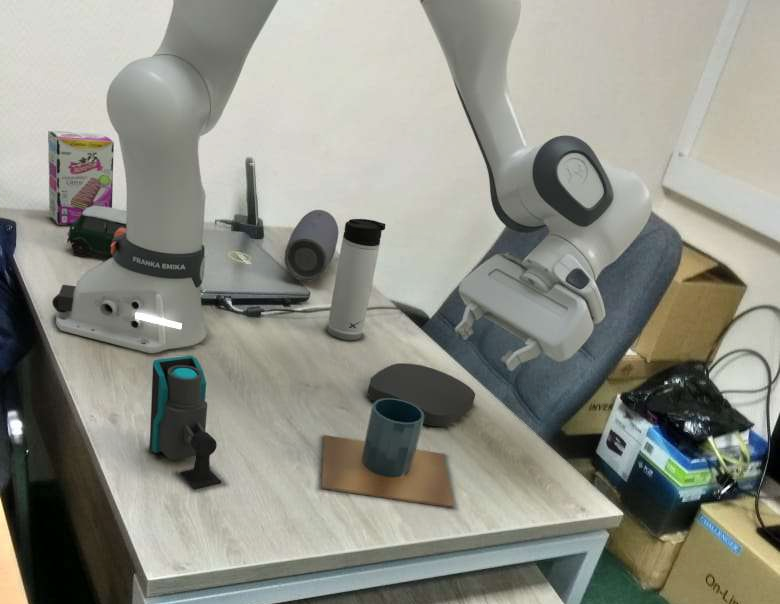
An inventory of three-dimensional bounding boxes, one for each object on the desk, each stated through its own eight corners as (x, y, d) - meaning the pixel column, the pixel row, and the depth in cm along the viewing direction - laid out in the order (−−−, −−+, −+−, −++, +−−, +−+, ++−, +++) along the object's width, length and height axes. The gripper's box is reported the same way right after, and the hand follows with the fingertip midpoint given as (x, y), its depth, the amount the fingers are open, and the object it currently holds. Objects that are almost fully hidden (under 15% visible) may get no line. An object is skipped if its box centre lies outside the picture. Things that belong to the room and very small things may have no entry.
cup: (361, 472, 105) (373, 418, 101) (360, 446, 111) (372, 394, 106) (412, 480, 106) (426, 427, 102) (409, 454, 112) (422, 402, 107)
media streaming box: (440, 434, 119) (445, 416, 117) (357, 397, 124) (361, 379, 122) (479, 404, 130) (484, 387, 129) (402, 371, 135) (406, 354, 133)
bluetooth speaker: (294, 249, 177) (301, 202, 171) (336, 258, 177) (344, 212, 172) (278, 281, 158) (284, 230, 152) (324, 291, 158) (333, 241, 153)
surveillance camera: (193, 399, 88) (150, 360, 93) (186, 491, 94) (147, 449, 100) (238, 392, 91) (194, 354, 97) (228, 481, 98) (188, 441, 103)
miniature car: (162, 273, 149) (164, 230, 144) (63, 253, 147) (61, 208, 142) (174, 259, 156) (176, 217, 152) (79, 239, 154) (79, 196, 150)
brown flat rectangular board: (321, 488, 101) (322, 486, 100) (323, 437, 111) (324, 435, 111) (452, 507, 103) (453, 505, 103) (442, 456, 114) (443, 453, 114)
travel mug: (358, 344, 140) (381, 229, 129) (322, 334, 141) (342, 218, 130) (366, 332, 146) (389, 221, 134) (332, 323, 146) (351, 210, 135)
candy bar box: (58, 226, 158) (56, 137, 149) (48, 218, 161) (46, 129, 151) (113, 226, 165) (114, 140, 156) (103, 217, 167) (103, 133, 158)
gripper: (494, 232, 111) (425, 304, 110) (605, 289, 99) (527, 370, 98) (508, 263, 116) (441, 332, 115) (615, 321, 104) (540, 398, 103)
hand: (481, 350), depth 107 cm, fingers open, 8 cm apart
